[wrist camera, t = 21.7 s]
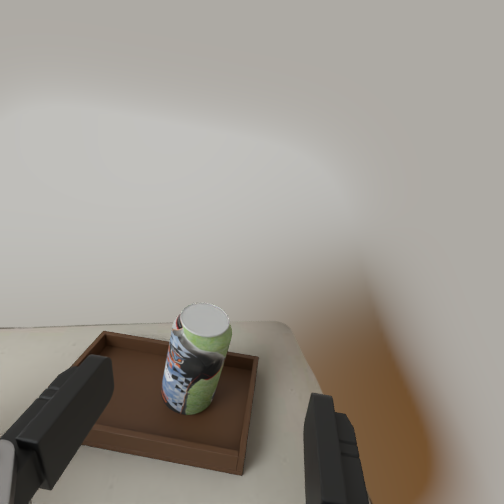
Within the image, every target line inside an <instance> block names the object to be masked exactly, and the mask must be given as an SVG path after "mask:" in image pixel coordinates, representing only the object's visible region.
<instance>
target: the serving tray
mask: <svg viewBox="0 0 504 504" xmlns="http://www.w3.org/2000/svg"><path fill="white" fill-rule="evenodd" d="M169 343H170V342H167V341H161V340H155V339H150V338H144V337H138V336H132V335H126V334H120V333H114V332H107V331H103V332H102V333H101V334H100V335H99V336H98V337H97V338H96V339H95V341H94V342H93V343H92V344H91V345H90V346H89V347H88V348H87V349H86V350H85V352H84V353H83V354H82V355H81V356H80V357H79V358H78V359H77V360H76V361H75V363H74V364H73V365H72V366H77V367H79V365H80V364H81V363H82V362H83V361H84V360H85V359H86V357H87V356H89V355H91V354H93V355H99V356H104V357H110V358H111V360H112V368H113V377H114V391H113V395H112V397H111V400H110V401H109V403H108V405H107V406H106V408H105V409H104V411H103V412H102V414H101V415H100V417H99V418H98V420H97V421H96V423H95V424H94V426H93V427H92V429H91V431H90V432H89V434H88V435H87V437H86V438H85V440H84V441H83V443H82V445H87V446H92V447H97V448H102V449H107V450H112V451H118V452H123V453H128V454H133V455H138V456H143V457H148V458H154V459H159V460H164V461H169V462H174V463H179V464H184V465H189V466H195V467H200V468H205V469H210V470H215V471H220V472H225V473H230V474H236V475H241V476H242V473H243V466H244V460H245V453H246V445H247V438H248V431H249V424H250V416H251V409H252V402H253V395H254V387H255V380H256V373H257V366H258V359H259V357H256V356H251V355H245V354H239V353H233V352H227V354H226V358H225V361H224V364H223V368H222V371H221V374H220V378H219V381H218V384H217V388H216V391H215V394H214V398H213V400H212V402H211V404H210V405H209V406H208V407H207V408H206V409H205V410H203V411H202V412H199V413H197V414H192V415H183V414H179V413H176V412H174V411H172V410H171V409H169V408H168V407H167V406H166V404H165V403H164V401H163V399H162V396H161V387H162V381H163V376H164V370H165V365H166V359H167V354H168V348H169ZM72 366H71V367H72ZM71 367H70V368H71Z"/></svg>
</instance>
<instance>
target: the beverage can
mask: <svg viewBox="0 0 504 504" xmlns="http://www.w3.org/2000/svg"><path fill="white" fill-rule="evenodd" d="M231 337H232V329H231V325H230V321H229V317H228V315H227V314H226V313H225V312H224V311H223V310H222V309H221V308H219V307H217V306H215V305H212V304H209V303H194V304H191V305H188V306H187V307H185V308H184V309H183V311H182V312H181V314H179V315H178V317H177V318H176V319H175V321H174V323H173V327H172V332H171V338H170V343H169V348H168V354H167V359H166V365H165V370H164V376H163V381H162V387H161V396H162V399H163V401H164V403H165V404H166V406H167V407H168V408H169V409H171V410H172V411H174V412H176V413H179V414H183V415H192V414H197V413H199V412H202V411H203V410H205V409H206V408H207V407H208V406H209V405H210V404H211V402H212V400H213V398H214V394H215V391H216V388H217V384H218V381H219V378H220V374H221V371H222V368H223V364H224V361H225V358H226V354H227V351H228V348H229V344H230V341H231Z"/></svg>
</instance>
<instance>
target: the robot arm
mask: <svg viewBox="0 0 504 504" xmlns="http://www.w3.org/2000/svg"><path fill="white" fill-rule="evenodd" d="M113 391H114V377H113V368H112V360H111V358H110V357H104V356H99V355H93V354H91V355H89V356H87V357H86V359H85V360H84V361H83V362H82V363H81V364H80V365H79V367H77V366H72V367H71V368H69V369H67V370H66V371H64V372H63V373H61V374H60V375H58V376H57V378H56V379H55V380H54V381H53V382H52V383H51V384H50V385H49V386H48V389H45V391H44V392H43V393H42V394H41V395H40V396H39V398H37V399H36V400H35V401H34V402H33V403H32V405H31V406H30V407H29V408H28V409H27V410H26V411H25V412H24V413H23V414H22V415H21V416H20V418H19V419H18V420H17V421H16V422H15V423H14V424H13V425H12V426H11V427H10V428H9V429H8V430H7V432H6V433H5V434H4V435H3V436H2V437H1V438H0V504H32V502H31V498H32V497H33V496H34V494H35V493H36V491H37V490H38V488H42V489H47V490H52V488H53V487H54V485H55V484H56V482H57V481H58V479H59V478H60V476H61V475H62V473H63V472H64V470H65V469H66V467H67V466H68V464H69V463H70V461H71V459H72V458H73V456H74V455H75V453H76V452H77V450H78V449H79V447H80V446H81V444H82V443H83V441H84V440H85V438H86V437H87V435H88V434H89V432H90V431H91V429H92V427H93V426H94V424H95V423H96V421H97V420H98V418H99V417H100V415H101V414H102V412H103V411H104V409H105V408H106V406H107V405H108V403H109V401H110V400H111V397H112V395H113ZM304 466H305V494H306V504H369V501H368V496H367V491H366V486H365V481H364V476H363V471H362V467H361V462H360V459H359V452H358V447H357V442H356V437H355V432H354V428H353V426H352V425H351V423H350V421H349V419H348V418H347V416H346V414H343V413H337V412H335V410H334V404H333V398H332V396H329V395H323V394H317V393H312V394H311V397H310V401H309V405H308V409H307V413H306V417H305V422H304Z"/></svg>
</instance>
